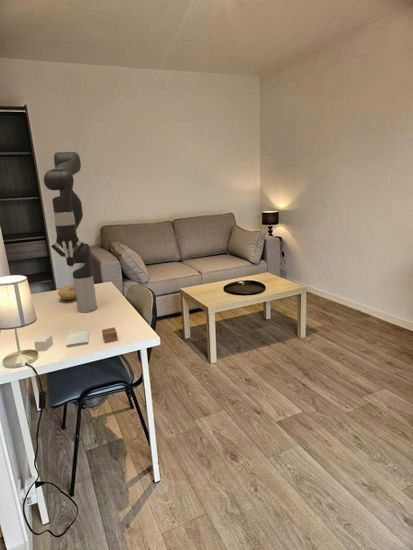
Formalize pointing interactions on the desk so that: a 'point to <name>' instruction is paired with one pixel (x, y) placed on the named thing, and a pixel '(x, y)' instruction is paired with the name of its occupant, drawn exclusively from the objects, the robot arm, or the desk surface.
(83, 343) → the hard drive
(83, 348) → the desk surface
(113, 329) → the walnut block
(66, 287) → the tan rounded lump
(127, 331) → the desk surface
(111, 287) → the desk surface
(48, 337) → the grey plastic block
